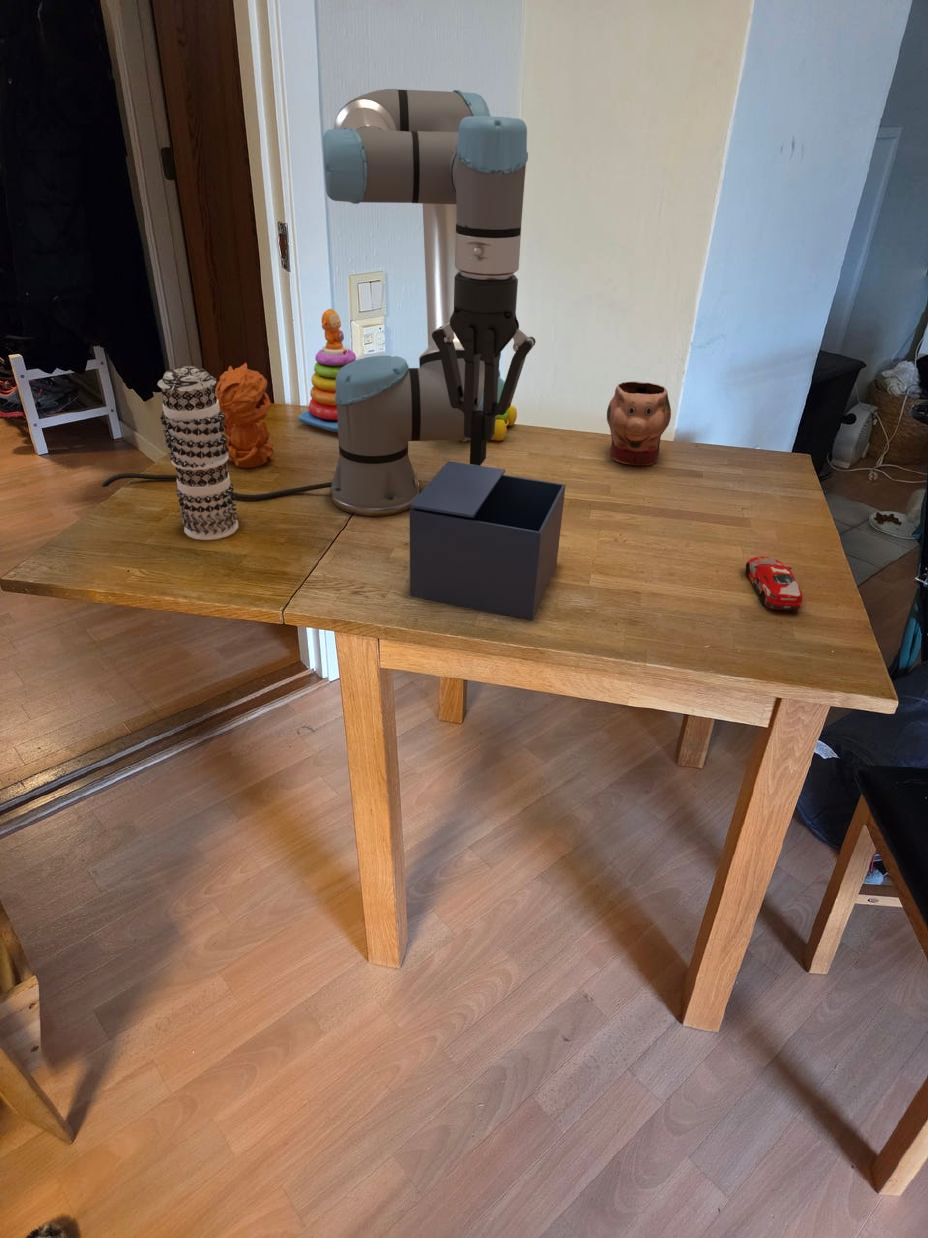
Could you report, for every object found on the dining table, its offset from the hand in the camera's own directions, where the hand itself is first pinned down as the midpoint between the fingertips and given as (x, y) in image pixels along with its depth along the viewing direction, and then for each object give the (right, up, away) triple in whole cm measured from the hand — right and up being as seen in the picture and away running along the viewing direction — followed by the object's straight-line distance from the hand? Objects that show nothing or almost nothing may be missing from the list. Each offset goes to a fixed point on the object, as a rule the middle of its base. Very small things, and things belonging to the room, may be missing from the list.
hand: (477, 460), depth 105 cm
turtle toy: (-1, +18, +59) cm, 61 cm away
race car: (+43, -17, +10) cm, 48 cm away
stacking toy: (-28, +20, +60) cm, 69 cm away
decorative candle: (-43, -7, +20) cm, 48 cm away
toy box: (+1, -16, +10) cm, 18 cm away
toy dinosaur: (-42, +8, +43) cm, 61 cm away
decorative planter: (+32, +12, +52) cm, 62 cm away
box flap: (-2, -3, +3) cm, 5 cm away
